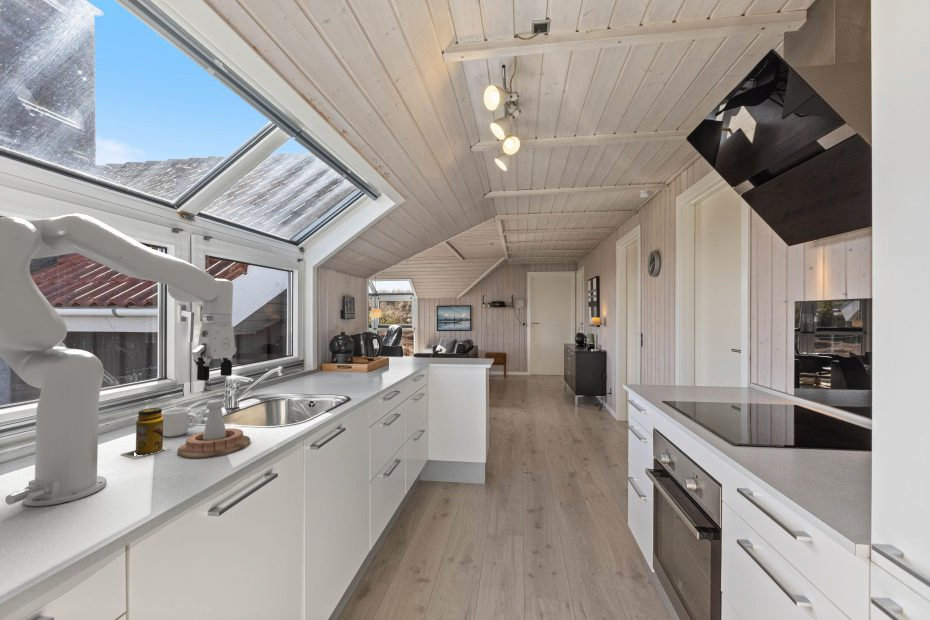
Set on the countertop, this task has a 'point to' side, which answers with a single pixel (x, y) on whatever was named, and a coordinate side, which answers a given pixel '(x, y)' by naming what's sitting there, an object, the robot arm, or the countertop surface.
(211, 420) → the salt shaker
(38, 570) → the countertop surface
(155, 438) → the condiment
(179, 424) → the cup
